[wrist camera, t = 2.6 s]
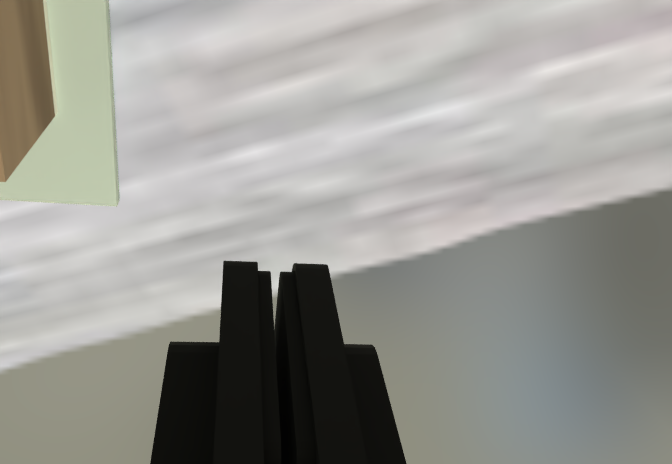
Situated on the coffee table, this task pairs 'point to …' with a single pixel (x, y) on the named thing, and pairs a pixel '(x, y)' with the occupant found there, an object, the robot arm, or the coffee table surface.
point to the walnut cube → (24, 80)
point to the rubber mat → (75, 115)
